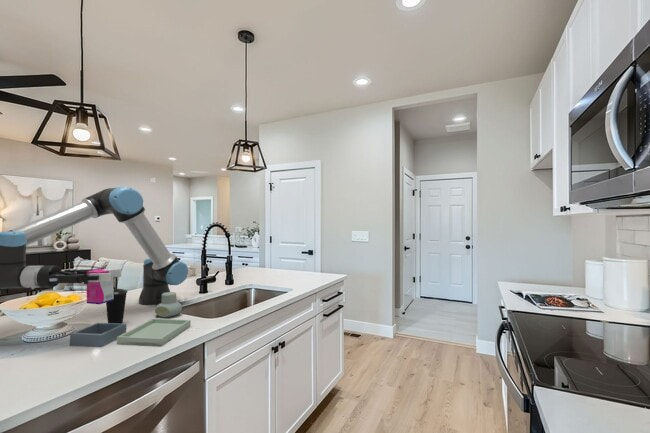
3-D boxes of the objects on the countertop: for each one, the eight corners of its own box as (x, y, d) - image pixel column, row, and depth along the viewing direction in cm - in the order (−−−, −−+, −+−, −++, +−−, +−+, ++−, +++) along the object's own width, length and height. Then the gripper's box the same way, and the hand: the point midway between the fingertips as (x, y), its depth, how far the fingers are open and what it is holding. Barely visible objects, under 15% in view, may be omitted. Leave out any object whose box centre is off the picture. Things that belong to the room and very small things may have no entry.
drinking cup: (115, 329, 120) (116, 278, 120) (98, 328, 121) (100, 277, 121) (131, 323, 127) (132, 275, 127) (115, 321, 129) (116, 274, 129)
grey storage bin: (97, 333, 116) (97, 322, 116) (125, 334, 115) (126, 323, 115) (69, 345, 104) (70, 333, 105) (101, 347, 104) (101, 335, 104)
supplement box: (100, 299, 113) (101, 268, 114) (113, 300, 112) (114, 269, 112) (85, 303, 108) (86, 271, 108) (99, 304, 106) (99, 271, 107)
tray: (153, 324, 126) (153, 318, 126) (190, 326, 125) (190, 320, 125) (116, 344, 106) (116, 336, 106) (160, 346, 105) (161, 339, 105)
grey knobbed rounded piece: (151, 317, 135) (151, 294, 136) (164, 311, 144) (165, 290, 144) (172, 319, 133) (173, 296, 133) (185, 313, 141) (185, 292, 141)
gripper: (61, 281, 116) (127, 279, 121) (19, 294, 97) (100, 292, 101) (62, 261, 117) (128, 260, 121) (20, 270, 97) (101, 269, 101)
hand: (115, 275), depth 111 cm, fingers closed on supplement box, 7 cm apart
